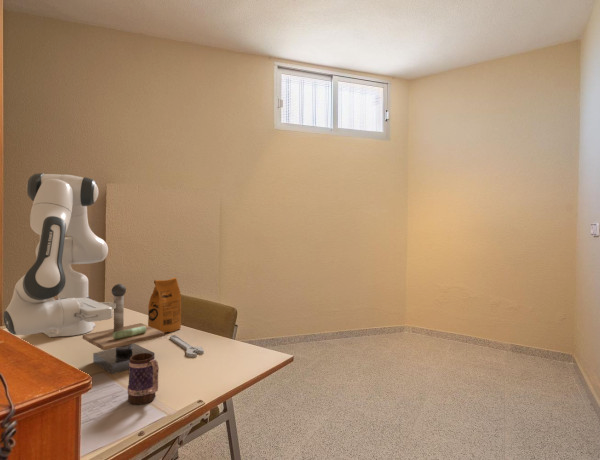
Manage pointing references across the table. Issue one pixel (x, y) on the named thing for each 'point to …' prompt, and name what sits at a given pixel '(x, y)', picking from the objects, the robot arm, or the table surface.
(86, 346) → the table surface
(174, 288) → the coffee package
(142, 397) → the mug
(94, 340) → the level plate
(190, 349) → the adjustable wrench
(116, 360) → the stand
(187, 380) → the table surface
